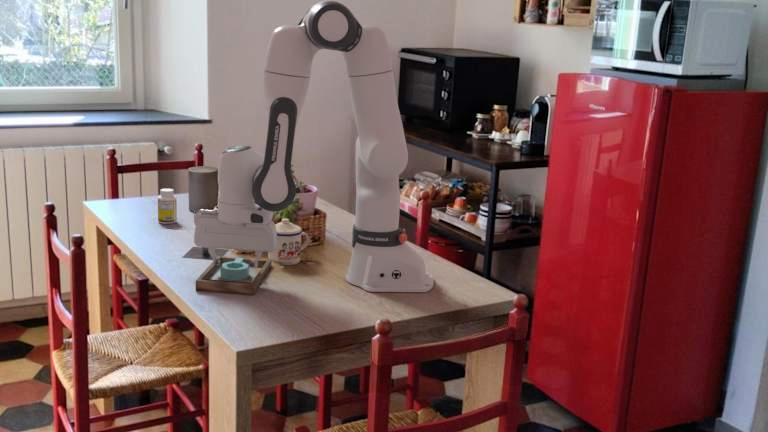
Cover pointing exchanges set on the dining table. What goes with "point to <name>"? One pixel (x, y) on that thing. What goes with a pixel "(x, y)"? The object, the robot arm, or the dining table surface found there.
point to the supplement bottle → (167, 207)
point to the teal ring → (235, 270)
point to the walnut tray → (231, 286)
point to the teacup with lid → (288, 243)
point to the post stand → (203, 253)
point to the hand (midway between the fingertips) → (235, 265)
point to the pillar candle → (203, 188)
